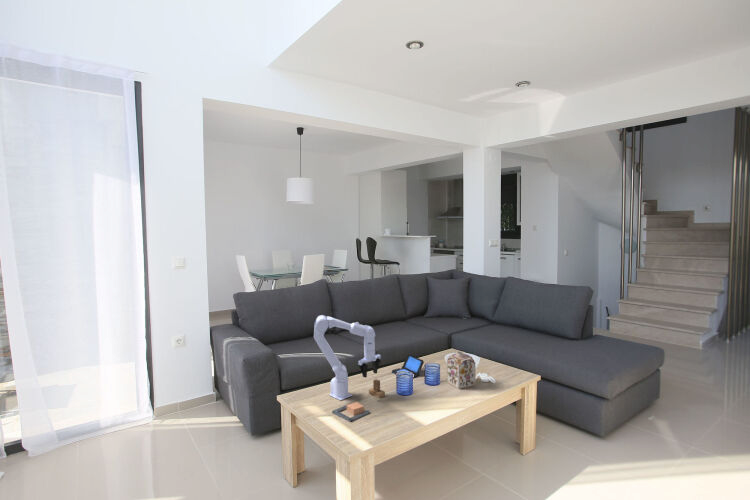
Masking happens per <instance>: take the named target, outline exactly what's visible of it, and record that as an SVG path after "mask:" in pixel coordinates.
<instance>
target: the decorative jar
mask: <svg viewBox="0 0 750 500" xmlns="http://www.w3.org/2000/svg"><path fill="white" fill-rule="evenodd" d="M476 375H477V374H476V361H475V360H474V358H473V357H472V355H469V354H467V353H466V352H465V351H457V352H456V353H452V354H451V355H449V357H448V358H447V359H446V383H448V384H449V385H451V386H452V387H454V388H456V389H458V390H461V389H465V388H469V387H475V386H476Z"/></svg>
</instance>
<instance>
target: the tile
mask: <svg viewBox="0 0 750 500" xmlns="http://www.w3.org/2000/svg"><path fill="white" fill-rule="evenodd" d="M351 403H352V404H350V403H348V404H349V405H348V404H346V405H347V409H346V412H348V413H349V414H350V415H353V416H355V415H358V414H360V413H362V412H364V411H365V406H364V405H362V403H360V402H357V401H355V402H351Z"/></svg>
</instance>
